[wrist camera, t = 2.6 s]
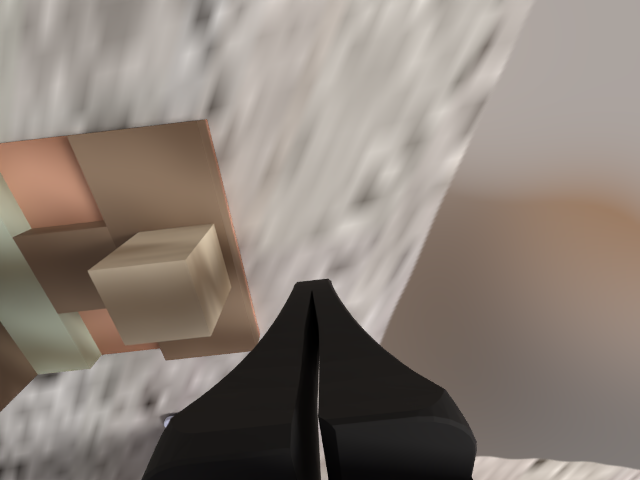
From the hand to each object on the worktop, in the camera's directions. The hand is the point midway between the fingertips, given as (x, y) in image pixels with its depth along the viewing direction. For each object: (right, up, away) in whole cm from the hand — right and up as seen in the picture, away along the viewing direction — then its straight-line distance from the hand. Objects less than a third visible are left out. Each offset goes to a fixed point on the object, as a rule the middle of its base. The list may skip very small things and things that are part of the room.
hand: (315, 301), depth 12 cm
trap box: (-12, +1, +6) cm, 14 cm away
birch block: (-7, +1, +5) cm, 9 cm away
